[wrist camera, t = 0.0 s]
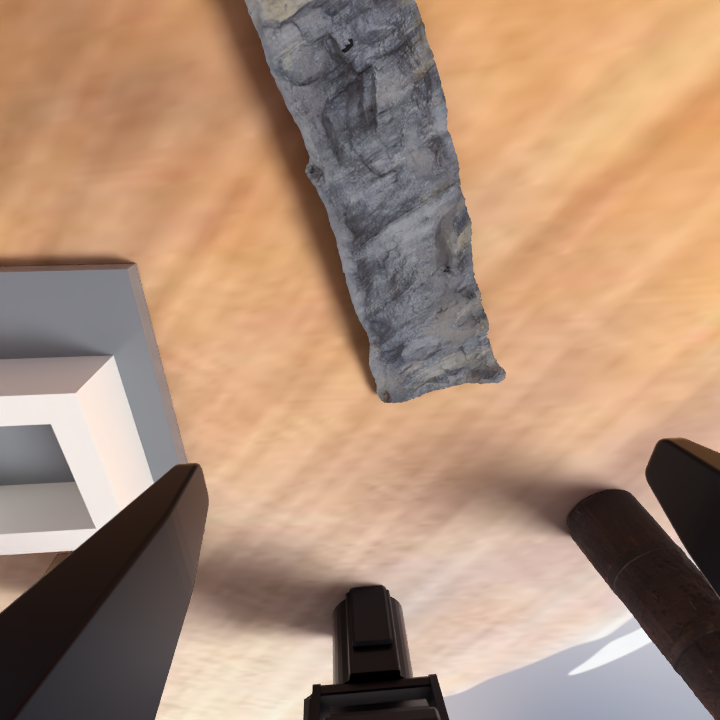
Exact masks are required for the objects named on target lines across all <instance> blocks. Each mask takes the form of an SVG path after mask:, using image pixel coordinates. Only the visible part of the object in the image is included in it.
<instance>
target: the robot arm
mask: <svg viewBox="0 0 720 720" xmlns="http://www.w3.org/2000/svg"><path fill="white" fill-rule="evenodd" d="M645 475H646V479H647V482H648V484H649V486H650V487H651V489H652V491H653V493H654V494H655V496H656V498H657V500H658V501H659V503H660V505H661V507H662V508H663V510H664V512H665V514H666V515H667V517H668V519H669V521H670V522H671V524H672V526H673V528H674V529H675V531H676V533H677V535H678V536H679V538H680V540H681V542H682V543H683V545H684V547H685V548H686V550H687V552H688V553H689V555H690V556H691V558H692V559H693V561H694V562H695V564H696V565H697V567H698V568H699V570H700V571H701V573H702V574H703V575H704V577H705V578H706V580H707V581H708V583H709V584H710V586H711V587H712V588H713V590H714V591H715V593H716V594H717V596H718V597H719V599H720V453H718V452H716V451H713V450H711V449H709V448H706V447H704V446H702V445H699V444H697V443H694V442H692V441H690V440H687V439H684V438H665V439H661V440H659V441H658V442H657V444H656V445H655V448H654V450H653V453H652V455H651V458H650V460H649V462H648V465H647V467H646V471H645ZM208 504H209V498H208V492H207V488H206V484H205V479H204V475H203V471H202V468H201V466H200V465H199V464H197V463H186V464H177V465H175V466H174V467H172V468H171V469H170V470H169V471H168V472H166V473H165V474H164V475H163V476H162V477H160V478H159V479H158V480H157V481H156V482H155V483H153V484H152V485H151V486H150V487H149V488H147V489H146V490H145V491H144V492H143V493H142V494H140V495H139V496H138V497H137V498H136V499H134V500H133V501H132V502H131V503H130V504H129V505H127V506H126V507H125V508H124V509H123V510H121V511H120V512H119V513H118V514H117V515H116V516H114V517H113V518H112V519H111V520H110V521H108V522H107V523H106V524H105V525H104V526H103V527H101V528H100V529H99V530H98V531H97V532H95V533H94V534H93V535H92V536H91V537H90V538H88V539H87V540H86V541H85V542H84V543H82V544H81V545H80V546H79V547H78V548H77V549H75V550H74V551H73V552H72V553H71V554H69V555H68V556H67V557H66V558H65V559H64V560H62V561H61V562H60V563H59V564H58V565H56V566H55V567H54V568H53V569H52V570H51V571H49V572H48V573H47V574H46V575H45V576H43V577H42V578H41V579H40V580H39V581H37V582H36V583H35V584H34V585H33V586H32V587H30V588H29V589H28V590H27V591H26V592H24V593H23V594H22V595H21V596H20V597H19V598H17V599H16V600H15V601H14V602H13V603H11V604H10V605H9V606H8V607H7V608H6V609H4V610H3V611H2V612H1V613H0V720H155V717H156V713H157V710H158V707H159V703H160V700H161V696H162V693H163V690H164V686H165V683H166V680H167V676H168V673H169V669H170V666H171V663H172V659H173V656H174V653H175V649H176V646H177V642H178V639H179V636H180V632H181V629H182V626H183V622H184V619H185V616H186V612H187V609H188V605H189V602H190V598H191V595H192V591H193V587H194V582H195V577H196V572H197V566H198V561H199V555H200V550H201V544H202V539H203V533H204V528H205V522H206V517H207V511H208ZM332 628H333V685H321V684H314V685H313V691H312V694H311V695H310V696H309V697H307V698H306V699H304V718H303V720H449V718H448V714H447V711H446V707H445V703H444V700H443V696H442V693H441V689H440V686H439V682H438V679H437V675H436V674H430V675H428V676H425V677H414V678H413V673H412V667H411V661H410V654H409V648H408V642H407V636H406V630H405V624H404V618H403V612H402V607H401V605H400V604H399V602H398V601H397V600H395V599H394V598H392V597H390V593H389V590H386V588H385V587H384V586H375V587H361V588H352V589H350V592H348V593H347V594H346V599H345V600H344V601H342V602H341V603H340V604H339V605H338V606H337V607H336V608H335V610H334V612H333V616H332Z"/></svg>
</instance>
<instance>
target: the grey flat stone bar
mask: <svg viewBox="0 0 720 720" xmlns="http://www.w3.org/2000/svg"><path fill="white" fill-rule="evenodd" d="M244 1H245V3H246V6H247V8H248V13H249V15H250V16H251V19H252V21H253V24H254V26H255V28H256V30H257V32H258V36H259V38H260V39H261V42H262V47H263V49H264V53H265V57H266V62H267V63H268V66H269V68H270V73H271V74H272V76H273V77H274V78H275V83H276V84H277V88H278V89H279V90H280V92H281V94H282V96H283V99H284V100H285V104H286V106H287V108H288V110H289V112H290V113H291V114H292V116H293V119H294V121H295V123H296V124H297V126H298V127H299V129H300V132H301V134H302V137H303V139H304V143H305V147H306V149H307V151H308V154H309V156H310V159H309V163H308V165H307V166H306V169H305V173H306V174H307V176H308V178H309V180H310V181H311V182H312V183H313V185H314V186H315V187H316V189H317V192H318V195H319V197H320V198H321V200H322V201H323V203H324V205H325V207H326V210H327V212H328V218H329V223H330V224H331V225H330V226H331V228H332V230H333V232H334V235H335V238H336V241H337V248H338V249H339V255H340V258H341V261H342V269H343V273H345V277H346V284H347V287H348V289H349V293H350V297H351V300H352V304H353V305H354V309H355V312H356V314H357V316H358V318H359V321H360V322H361V324H362V326H363V328H364V329H365V331H366V332H367V334H368V338H369V343H370V348H369V351H370V352H369V354H370V355H369V358H370V359H369V367H370V370H371V372H372V375H373V377H374V378H375V383H376V385H377V387H376V388H377V391H376V393H378V396H379V397H380V398H381V400H382V401H383V402H385V403H391V402H392V403H397V402H404V401H407V400H411V399H414V398H416V397H419V396H421V395H423V394H425V393H428V392H431V391H433V390H440V389H445V388H449V387H451V386H455V385H456V386H457V385H460V384H464V383H479V384H483V383H499V382H501V381H502V380H504V378H505V375H506V372H505V371H504V369H503V368H501V367H500V366H499V364H498V363H497V362H496V361H497V360H496V359H495V358H494V355H493V352H492V348H491V345H490V341H489V339H488V338H487V337H486V335H487V331H488V330H489V323H488V319H487V316H486V314H485V313H484V309H483V306H482V304H481V300H482V299H480V298H481V293H480V291H479V288H478V287H477V286H478V285H477V283H476V281H475V278H474V275H475V274H474V272H473V262H472V246H471V235H472V229H471V224H472V223H471V220H470V217H469V215H468V213H467V207H466V206H465V198H464V196H463V194H462V191H461V188H460V184H461V183H460V178H459V166H458V165H459V163H458V160H457V155H456V153H455V149H454V146H453V143H452V138H451V135H450V133H449V132H448V130H447V120H446V118H447V108H446V100H445V96H444V93H443V90H442V87H441V80H440V77H439V74H438V70H437V67H436V63H435V61H434V59H433V57H434V55H433V53H432V50H431V49H430V47H429V44H428V41H427V38H426V34H425V26H424V23H423V22H422V19H421V16H420V13H419V10H418V7H417V3H416V2H415V0H244Z"/></svg>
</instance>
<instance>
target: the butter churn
mask: <svg viewBox="0 0 720 720" xmlns="http://www.w3.org/2000/svg"><path fill="white" fill-rule="evenodd" d="M568 524H569V528H570V530H571V536H572V539H573V540H574V541H575V542H576V544H577V545H578V546H579V548H580V549H581V551H582V552H583V553H584V554H585V555H586V557H587V558H588V560H589V561H590V562H591V563H592V565H593V566H594V568H595V569H596V570H597V572H599V574H600V575H601V576H602V578H603V579H604V580H605V582H606V583H607V584H608V585H609V587H610V588H611V589H612V590H613V592H614V593H615V594H616V595H617V596H618V597H619V599H621V601H622V602H623V603H624V604H625V606H626V607H627V608H628V610H629V611H630V612H631V613H632V614H633V616H634V618H635V619H636V620H637V621H638V623H639V624H640V626H641V627H642V629H643V630H644V631H645V633H646V634H647V635H648V636H649V638H650V639H651V640H652V641H653V643H654V644H655V645H656V646H657V647H658V649H659V650H660V651H661V653H662V654H663V655H664V656H665V657H666V659H667V660H668V661H669V662H670V664H671V665H672V667H673V668H674V670H675V671H676V672H677V673H678V674H679V675H680V676H681V677H682V678H683V680H684V681H685V682H686V683H687V685H688V686H689V688H690V689H691V690H692V691H693V692H694V694H695V696H696V697H697V698H698V699H699V700H700V701H701V703H702V704H703V705H704V707H705V708H706V709H707V710H708V711H709V712H710V714H711V715H712V716H713V717H714V719H715V720H720V599H719V597H718V596H717V594H716V593H715V591H714V590H713V588H712V587H711V586H710V584H709V583H708V581H707V580H706V578H705V577H704V575H703V574H702V573H701V571H699V570H698V568H697V567H696V565H694V563H693V562H692V561H691V560H690V559H689V558H688V557H687V556H686V554H685V553H684V552H683V550H682V549H681V548H680V547H679V546H678V545H676V544H675V542H674V541H673V540H672V539H671V538H670V537H669V536H668V534H667V533H666V532H665V531H664V530H663V529H662V528H661V526H660V525H659V524H658V523H657V522H656V521H655V520H654V518H653V517H652V516H651V515H650V514H649V513H648V512H647V510H646V509H645V508H644V507H643V506H642V505H641V504H640V503H639V502H638V501H637V500H636V498H635V497H634V496H633V495H632V494H631V493H629V492H627V491H624V490H623V491H621V490H610V491H608V490H607V491H605V492H602V493H601V492H600V493H598V494H596V495H592V496H589V497H588V498H586V499H585V500H583V501H582V502H581V503H580V504H579V505H578V506H577V507H576V508H575V510H574V511H573V513H572V514H571V515H570V517H569V519H568Z"/></svg>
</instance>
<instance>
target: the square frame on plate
mask: <svg viewBox="0 0 720 720" xmlns="http://www.w3.org/2000/svg"><path fill="white" fill-rule="evenodd" d="M186 463H187V459H186V455H185V451H184V447H183V443H182V439H181V436H180V432H179V428H178V424H177V420H176V416H175V412H174V408H173V405H172V401H171V397H170V393H169V389H168V385H167V381H166V377H165V374H164V370H163V366H162V362H161V358H160V354H159V350H158V346H157V343H156V339H155V335H154V331H153V327H152V323H151V319H150V315H149V311H148V308H147V304H146V300H145V296H144V292H143V288H142V284H141V280H140V277H139V273H138V269H137V265H136V264H93V265H50V266H6V267H0V556H1V555H16V554H32V553H48V552H63V551H74V550H75V549H77V548H78V547H79V546H80V545H81V544H82V543H84V542H85V541H86V540H87V539H88V538H90V537H91V536H92V535H93V534H94V533H95V532H97V531H98V530H99V529H100V528H101V527H103V526H104V525H105V524H106V523H107V522H108V521H110V520H111V519H112V518H113V517H114V516H116V515H117V514H118V513H119V512H120V511H121V510H123V509H124V508H125V507H126V506H127V505H129V504H130V503H131V502H132V501H133V500H134V499H136V498H137V497H138V496H139V495H140V494H142V493H143V492H144V491H145V490H146V489H147V488H149V487H150V486H151V485H152V484H153V483H155V482H156V481H157V480H158V479H159V478H160V477H162V476H163V475H164V474H165V473H166V472H168V471H169V470H170V469H171V468H172V467H174V466H175V465H177V464H186ZM204 531H205V529H204ZM203 534H204V533H203Z"/></svg>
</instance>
